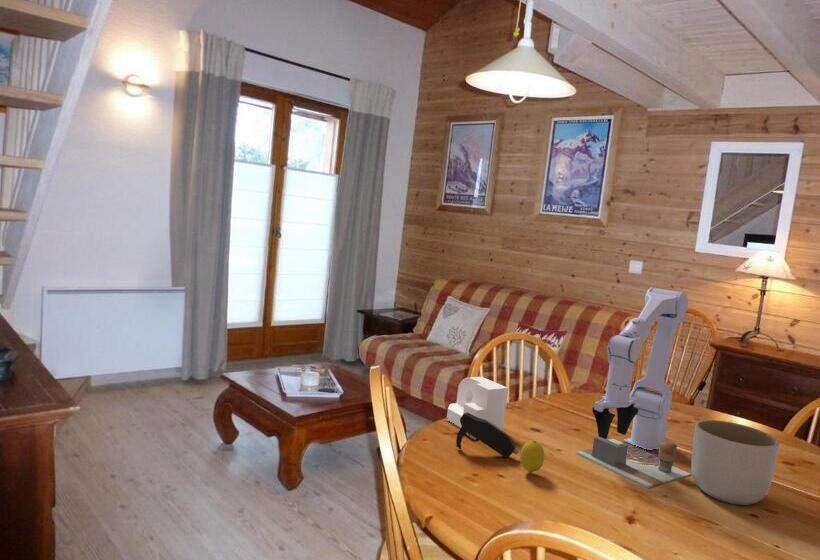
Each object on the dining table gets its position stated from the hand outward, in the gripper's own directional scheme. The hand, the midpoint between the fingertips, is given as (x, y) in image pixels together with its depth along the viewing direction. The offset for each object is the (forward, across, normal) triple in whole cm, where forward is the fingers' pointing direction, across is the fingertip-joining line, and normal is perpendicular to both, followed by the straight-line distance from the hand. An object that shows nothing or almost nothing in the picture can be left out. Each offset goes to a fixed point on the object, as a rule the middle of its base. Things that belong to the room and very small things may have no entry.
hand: (612, 435), depth 149 cm
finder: (+6, 0, 0) cm, 7 cm away
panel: (+7, -5, +4) cm, 9 cm away
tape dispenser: (+7, +17, -35) cm, 39 cm away
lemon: (+7, +25, -3) cm, 26 cm away
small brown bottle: (+7, -9, +10) cm, 15 cm away
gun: (+9, +30, -18) cm, 36 cm away
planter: (+7, -12, +24) cm, 28 cm away
